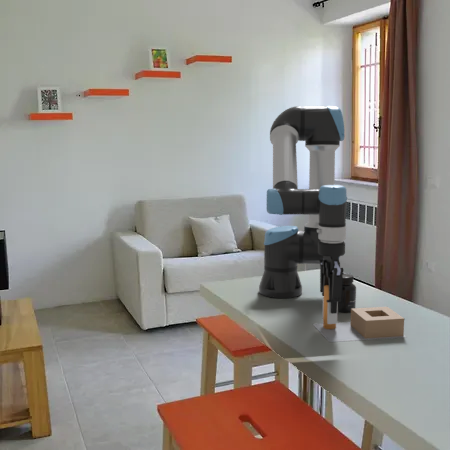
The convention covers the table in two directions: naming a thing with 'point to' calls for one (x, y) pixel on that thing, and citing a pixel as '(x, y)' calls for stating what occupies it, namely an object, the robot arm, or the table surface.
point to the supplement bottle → (347, 294)
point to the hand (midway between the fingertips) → (329, 320)
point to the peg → (326, 297)
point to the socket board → (343, 333)
